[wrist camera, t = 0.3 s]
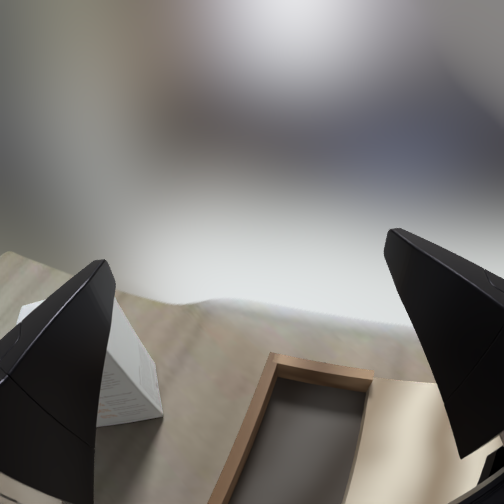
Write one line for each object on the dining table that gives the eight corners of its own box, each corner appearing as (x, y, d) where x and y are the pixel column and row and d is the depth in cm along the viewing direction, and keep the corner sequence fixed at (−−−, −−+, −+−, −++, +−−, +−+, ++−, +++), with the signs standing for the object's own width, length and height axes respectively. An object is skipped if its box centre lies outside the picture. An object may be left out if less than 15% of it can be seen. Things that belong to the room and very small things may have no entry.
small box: (156, 363, 24) (109, 279, 18) (165, 418, 20) (105, 346, 14) (82, 378, 23) (20, 303, 16) (82, 430, 18) (3, 364, 12)
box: (549, 392, 14) (565, 376, 12) (548, 515, 4) (570, 507, 2) (271, 370, 23) (270, 352, 21) (207, 523, 13) (197, 524, 11)
